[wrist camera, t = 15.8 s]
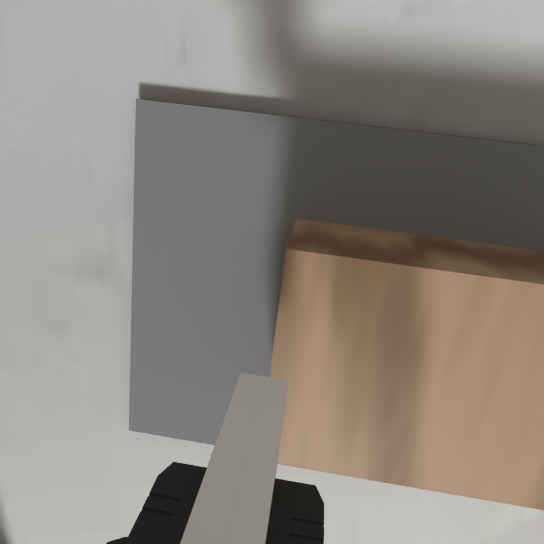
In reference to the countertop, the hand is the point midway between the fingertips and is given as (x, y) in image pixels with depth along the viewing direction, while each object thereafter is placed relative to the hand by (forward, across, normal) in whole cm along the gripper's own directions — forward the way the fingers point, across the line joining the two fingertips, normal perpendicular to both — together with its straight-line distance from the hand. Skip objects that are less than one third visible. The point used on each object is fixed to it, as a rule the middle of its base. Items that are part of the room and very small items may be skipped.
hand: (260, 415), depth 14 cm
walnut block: (+6, 0, 0) cm, 6 cm away
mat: (+10, +3, 0) cm, 10 cm away
